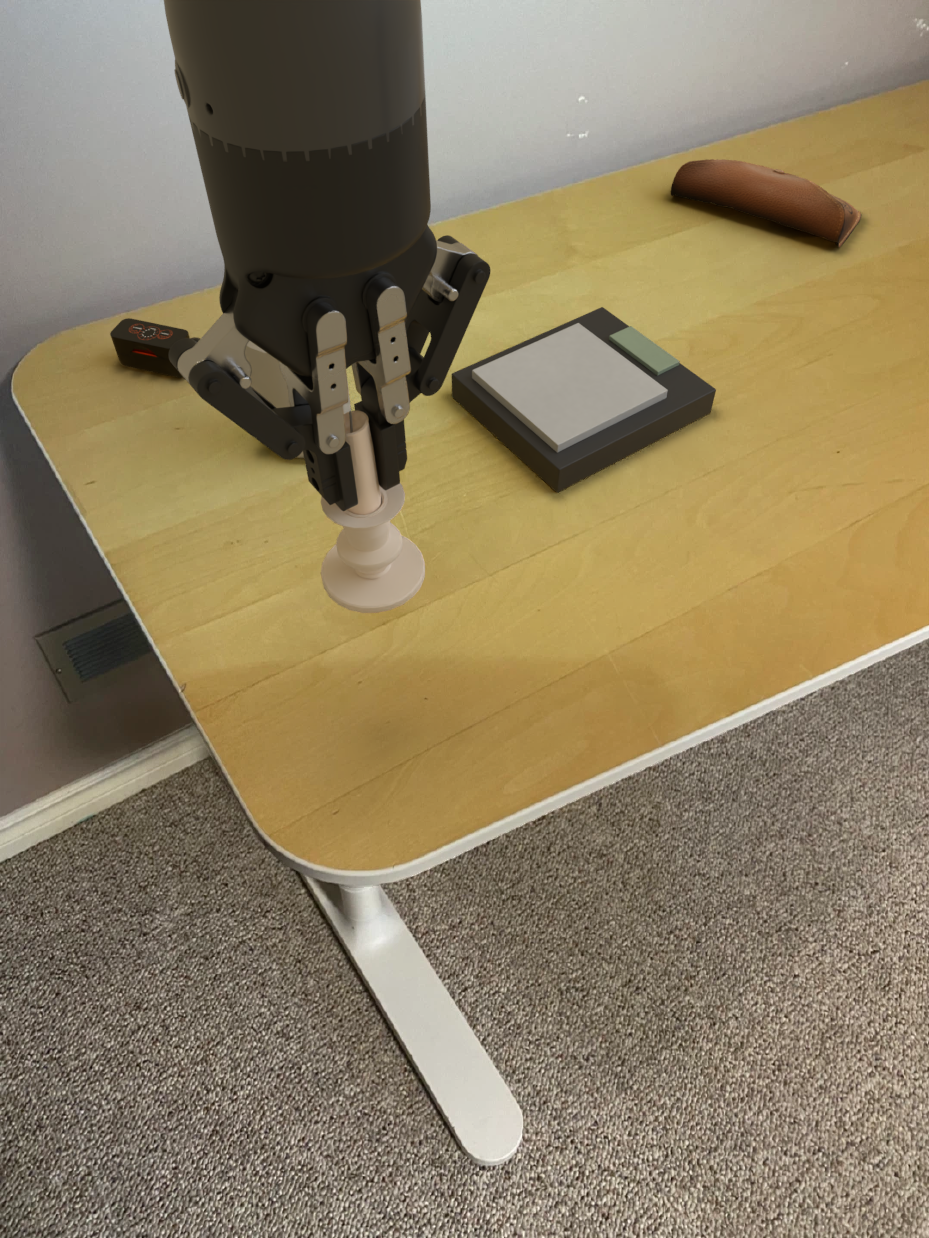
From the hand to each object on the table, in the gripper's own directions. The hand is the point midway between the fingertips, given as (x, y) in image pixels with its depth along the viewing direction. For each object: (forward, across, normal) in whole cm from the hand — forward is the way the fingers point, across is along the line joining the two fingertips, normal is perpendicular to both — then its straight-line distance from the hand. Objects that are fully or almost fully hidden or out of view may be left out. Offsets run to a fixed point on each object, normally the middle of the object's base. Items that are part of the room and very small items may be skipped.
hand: (361, 486), depth 44 cm
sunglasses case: (+21, +64, +30) cm, 74 cm away
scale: (+21, +29, +17) cm, 40 cm away
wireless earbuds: (+20, +4, +42) cm, 47 cm away
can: (+21, +9, +27) cm, 35 cm away
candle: (+6, 0, 0) cm, 6 cm away
